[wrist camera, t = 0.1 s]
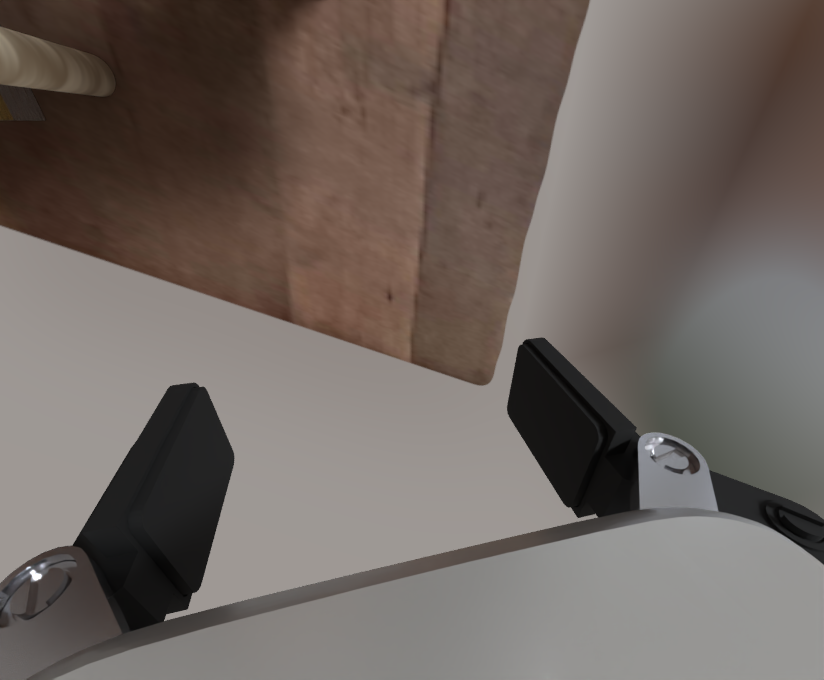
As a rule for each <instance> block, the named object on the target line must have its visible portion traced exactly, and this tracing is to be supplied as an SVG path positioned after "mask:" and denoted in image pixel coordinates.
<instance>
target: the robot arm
mask: <svg viewBox="0 0 824 680" xmlns="http://www.w3.org/2000/svg"><path fill="white" fill-rule="evenodd" d="M507 411H508V415H509V417H510V419H511V420H512V422H513V423H514V425H515V427H516V428H517V430H518V432H519V433H520V435H521V436H522V438H523V439H524V441H525V443H526V444H527V446H528V448H529V449H530V451H531V452H532V454H533V455H534V457H535V459H536V460H537V462H538V463H539V465H540V467H541V468H542V470H543V471H544V473H545V475H546V476H547V478H548V479H549V481H550V483H551V484H552V485H553V487H554V489H555V490H556V492H557V494H558V495H559V497H560V498H561V500H562V501H563V503H564V504H565V505H566V506H567V507H571V508H572V510H573V511H574V513H575V514H576V516H577V517H578V518H580V517H584V516H588V515H593V514H595V513H596V515H597V516H598V518H594V519H590V520H585V521H580V522H575V523H571V524H567V525H562V526H557V527H553V528H549V529H544V530H540V531H536V532H531V533H527V534H523V535H518V536H514V537H510V538H505V539H501V540H496V541H492V542H488V543H484V544H480V545H475V546H471V547H467V548H463V549H458V550H454V551H449V552H446V553H441V554H437V555H432V556H428V557H424V558H420V559H415V560H411V561H407V562H403V563H398V564H394V565H390V566H386V567H381V568H377V569H373V570H369V571H365V572H360V573H356V574H352V575H348V576H344V577H340V578H335V579H331V580H328V581H323V582H319V583H315V584H311V585H306V586H302V587H298V588H294V589H290V590H286V591H281V592H277V593H273V594H269V595H265V596H261V597H257V598H253V599H248V600H244V601H241V602H237V603H233V604H229V605H225V606H221V607H217V608H214V609H210V610H206V611H202V612H198V613H194V614H190V615H186V616H183V617H179V618H175V619H171V620H167V621H164V619H165V616H166V614H169V613H174V612H178V611H182V610H186V609H188V606H189V603H190V599H191V596H192V593H195V592H197V591H198V590H199V588H200V586H201V583H202V580H203V576H204V573H205V569H206V565H207V561H208V557H209V554H210V550H211V547H212V542H213V539H214V535H215V532H216V528H217V525H218V521H219V517H220V513H221V510H222V506H223V502H224V498H225V495H226V491H227V487H228V484H229V480H230V476H231V473H232V469H233V465H234V453H233V450H232V448H231V445H230V443H229V440H228V438H227V436H226V433H225V431H224V429H223V427H222V424H221V422H220V420H219V418H218V415H217V413H216V410H215V408H214V406H213V403H212V401H211V399H210V396H209V394H208V392H207V390H206V388H205V387H199V386H198V385H197V384H196V383H187V384H180V385H173V386H170V387H169V388H168V389H167V391H166V393H165V395H164V396H163V398H162V399H161V401H160V403H159V404H158V406H157V408H156V409H155V411H154V413H153V414H152V416H151V418H150V420H149V421H148V423H147V425H146V426H145V428H144V430H143V431H142V433H141V435H140V436H139V438H138V440H137V441H136V442H135V444H134V445H133V447H132V448H131V449H130V451H129V453H128V454H127V456H126V458H125V459H124V461H123V462H122V464H121V466H120V467H119V469H118V471H117V472H116V474H115V476H114V477H113V479H112V481H111V482H110V484H109V486H108V487H107V489H106V491H105V492H104V494H103V496H102V497H101V499H100V501H99V502H98V504H97V506H96V507H95V509H94V511H93V512H92V514H91V516H90V517H89V519H88V521H87V522H86V524H85V526H84V527H83V529H82V531H81V532H80V534H79V536H78V537H77V539H76V541H75V542H74V544H73V546H64V547H58V548H55V549H52V550H49V551H47V552H44V553H42V554H40V555H38V556H36V557H34V558H32V559H31V560H29V561H27V562H26V563H25V564H23V565H22V566H20V567H19V568H17V569H16V570H15V571H13V572H12V573H11V574H10V575H9V576H7V577H6V578H5V579H4V580H3V581H2V582H1V583H0V680H824V520H823V519H822V518H821V517H820V516H818V515H817V514H815V513H814V512H812V511H811V510H809V509H807V508H806V507H804V506H802V505H800V504H797V503H795V502H793V501H791V500H788V499H786V498H783V497H780V496H777V495H775V494H772V493H769V492H767V491H764V490H761V489H759V488H756V487H753V486H751V485H748V484H745V483H742V482H739V481H737V480H734V479H731V478H729V477H726V476H723V475H721V474H718V473H715V472H712V471H710V470H709V468H708V465H707V463H706V461H705V459H704V458H703V457H702V455H701V454H700V453H699V452H698V451H697V450H696V449H695V448H693V447H692V446H691V445H689V444H688V443H686V442H684V441H682V440H681V439H679V438H676V437H673V436H671V435H668V434H663V433H647V434H644V435H643V436H642V437H640V436H639V435H638V434H637V433H636V432H635V430H636V427H635V426H634V425H633V424H632V423H631V422H630V421H629V420H628V419H627V418H626V417H625V416H624V415H623V414H622V413H621V412H620V411H619V410H618V409H617V408H616V407H615V406H614V405H613V404H612V403H611V402H610V401H609V400H608V399H607V398H606V397H605V396H604V395H603V394H601V392H599V391H598V390H597V389H596V388H595V387H594V386H593V385H592V384H591V383H590V382H589V381H588V380H587V379H586V378H585V377H584V376H583V375H582V374H581V373H580V372H579V371H578V370H577V369H576V368H575V367H574V366H573V365H572V364H571V363H570V362H569V361H568V360H567V359H566V358H565V357H564V356H563V355H561V354H560V353H559V352H558V351H557V350H556V349H555V348H554V347H553V346H552V345H551V344H550V343H549V342H548V341H547V340H546V339H545V338H535V339H528V340H525V341H524V342H523V345H520V346H519V348H518V352H517V357H516V363H515V368H514V373H513V378H512V384H511V389H510V395H509V400H508V405H507Z"/></svg>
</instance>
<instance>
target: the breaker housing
mask: <svg viewBox="0 0 824 680" xmlns="http://www.w3.org/2000/svg"><path fill="white" fill-rule="evenodd" d="M0 27H1V26H0ZM0 120H33V121H46V120H45V117H44V115H43V113H42V111H41V109H40V107H39V105H38V103H37V101H36V99H35V97H34V94H33V92H32V90H31V88H26V87H18V86H10V85H2V84H0Z"/></svg>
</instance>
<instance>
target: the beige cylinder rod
mask: <svg viewBox="0 0 824 680" xmlns="http://www.w3.org/2000/svg"><path fill="white" fill-rule="evenodd" d="M0 84H2V85H10V86H18V87H26V88H34V89H42V90H50V91H58V92H66V93H74V94H83V95H91V96H99V97H106V96H109V95H111V94H112V93H113V92H114V90H115V87H116V81H115V77H114V75H113V72H112V71H111V69H110V68H109V66H108V65H107V64H106V63H105V62H104V61H103V60H102V59H100V58H99V57H97V56H95V55H93V54H90V53H86V52H83V51H80V50H76V49H73V48H70V47H66V46H63V45H60V44H56V43H53V42H50V41H46V40H43V39H40V38H37V37H33V36H30V35H27V34H23V33H20V32H17V31H13V30H10V29H7V28H3V27H0Z"/></svg>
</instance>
